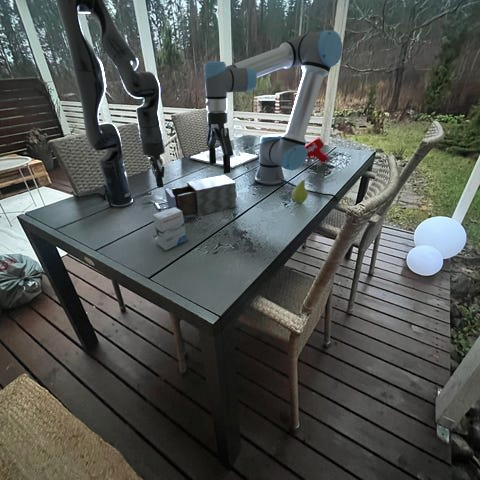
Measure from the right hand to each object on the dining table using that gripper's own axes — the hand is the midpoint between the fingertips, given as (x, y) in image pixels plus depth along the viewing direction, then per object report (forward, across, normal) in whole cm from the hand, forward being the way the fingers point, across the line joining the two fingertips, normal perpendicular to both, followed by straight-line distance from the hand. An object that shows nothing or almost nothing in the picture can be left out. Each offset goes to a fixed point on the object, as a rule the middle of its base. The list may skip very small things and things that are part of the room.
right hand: (219, 168), depth 111 cm
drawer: (+15, 0, -17) cm, 23 cm away
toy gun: (+16, -29, +75) cm, 82 cm away
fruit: (+16, +15, +32) cm, 39 cm away
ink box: (+16, +20, -28) cm, 38 cm away
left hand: (+3, 0, -25) cm, 25 cm away
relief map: (+16, -63, +32) cm, 73 cm away
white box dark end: (+16, 0, -4) cm, 17 cm away
